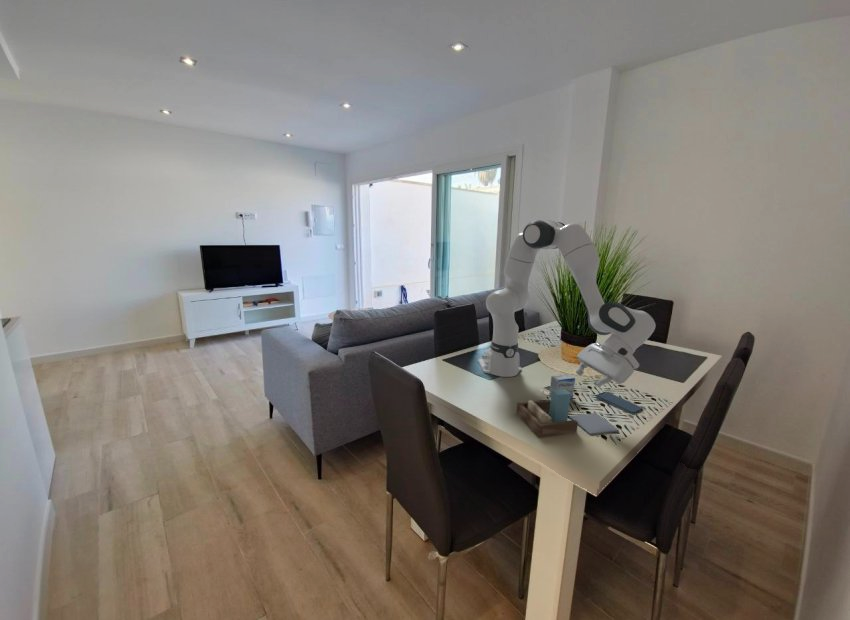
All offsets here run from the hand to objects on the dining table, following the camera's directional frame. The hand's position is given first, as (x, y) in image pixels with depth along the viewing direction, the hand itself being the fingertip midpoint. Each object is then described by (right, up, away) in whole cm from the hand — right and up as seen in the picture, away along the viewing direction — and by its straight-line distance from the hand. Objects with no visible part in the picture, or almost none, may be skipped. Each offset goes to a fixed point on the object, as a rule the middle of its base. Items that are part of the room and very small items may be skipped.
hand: (586, 379), depth 119 cm
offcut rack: (-14, -15, 0) cm, 21 cm away
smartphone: (+19, -13, +15) cm, 28 cm away
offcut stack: (-17, -15, 0) cm, 23 cm away
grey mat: (+2, -15, 0) cm, 15 cm away
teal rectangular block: (-10, -15, +1) cm, 18 cm away
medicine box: (-1, -11, +19) cm, 22 cm away
